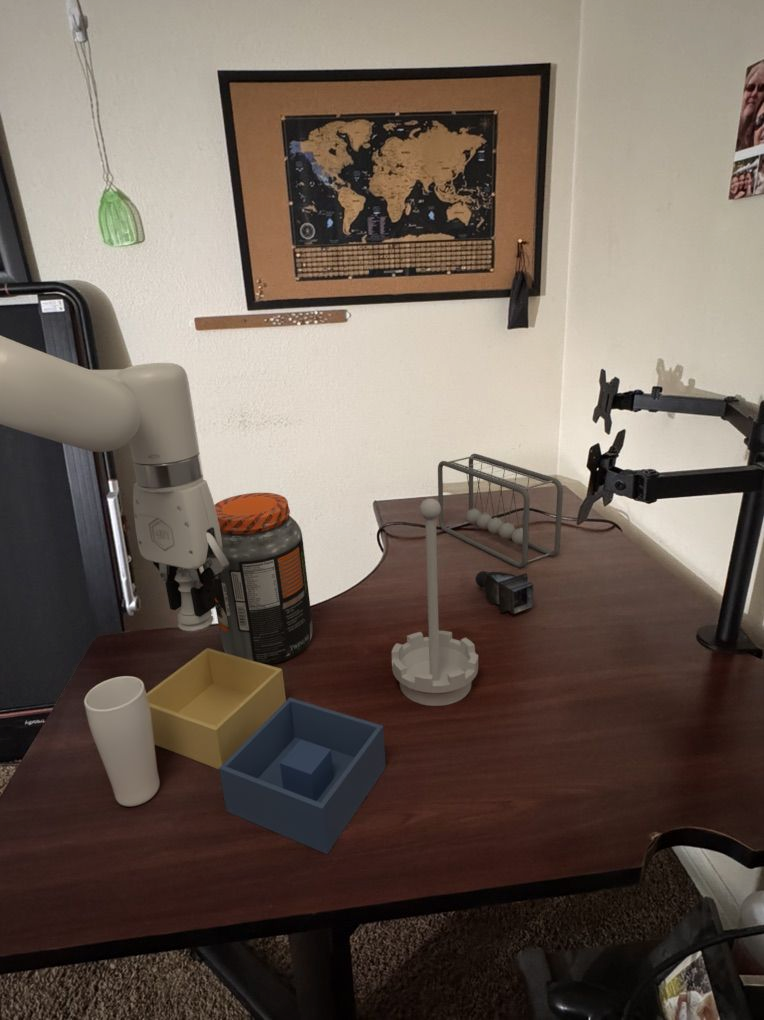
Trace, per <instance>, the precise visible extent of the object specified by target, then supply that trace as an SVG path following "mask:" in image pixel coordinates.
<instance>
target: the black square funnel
mask: <svg viewBox="0 0 764 1020" xmlns="http://www.w3.org/2000/svg"><path fill="white" fill-rule="evenodd" d="M528 580H529V579H528V573H522V574H519V575H515V574H512V573H508V572H503V571H484V570H482V571H479V572H477V574H476V576H475V583H476V585H477V586H478V587H480V588H484V592H485V594H486V595H485V596H486V598H487V601H488V603H490V604H495V605H499V614H500V615H502V614H504V613H507V612H510V614H517V613H520V612H522V611H525V610H527V609H531V608H533V606H534V583H532V581H528Z"/></svg>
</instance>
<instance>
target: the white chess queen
mask: <svg viewBox="0 0 764 1020" xmlns="http://www.w3.org/2000/svg"><path fill="white" fill-rule="evenodd" d="M176 572H177V574H176V576H175V580H176V581H177V582H178V583H179V584H180V586H179V588H178V590H179V591H180V592H181V607H180V609H179V612H178V614H177V622H178V623H177V625H178V628H179V629H180V630H181V631H183V632H184V633H188V634H190V633H191V634H194V633H199V632H203V631H205V630H207V629H208V628H209V627H210V626H211V625H212V623H213V622H214V617H213V612H212V609H211V610H210V611H208V612H207V613H205V614H204V615H202V616H201V617H198V616H196V615H195V613H194V607H193V602H192V596H191V588H192V587H194V585H193V582H192V578H191V575H190V571H189V569H184V568H183V570H182V568H178V570H176ZM200 573H202V572H201V571H200Z"/></svg>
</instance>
